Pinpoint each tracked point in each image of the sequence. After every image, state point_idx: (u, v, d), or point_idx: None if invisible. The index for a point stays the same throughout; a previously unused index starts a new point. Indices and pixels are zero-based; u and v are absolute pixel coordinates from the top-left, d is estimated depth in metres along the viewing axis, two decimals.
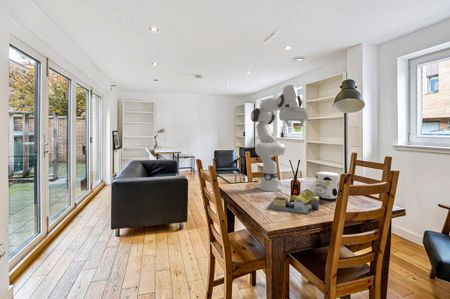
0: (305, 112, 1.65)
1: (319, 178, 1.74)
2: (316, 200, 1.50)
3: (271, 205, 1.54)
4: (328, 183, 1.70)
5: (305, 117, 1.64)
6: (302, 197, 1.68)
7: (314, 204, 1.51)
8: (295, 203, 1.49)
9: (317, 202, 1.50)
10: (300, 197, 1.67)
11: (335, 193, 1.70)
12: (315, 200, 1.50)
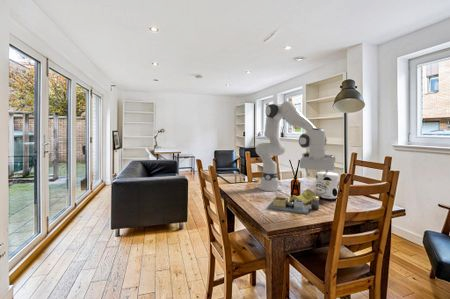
0: (331, 162, 1.45)
1: (319, 178, 1.74)
2: (316, 200, 1.50)
3: (271, 205, 1.54)
4: (328, 183, 1.70)
5: (329, 168, 1.46)
6: (303, 197, 1.68)
7: (314, 204, 1.51)
8: (295, 203, 1.49)
9: (317, 202, 1.50)
10: (301, 197, 1.67)
11: (335, 193, 1.70)
12: (315, 200, 1.50)
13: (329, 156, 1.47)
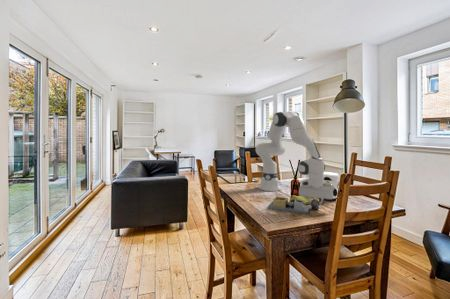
0: (330, 191, 1.47)
1: None
2: (316, 200, 1.50)
3: (271, 205, 1.54)
4: (328, 183, 1.70)
5: (328, 197, 1.47)
6: (303, 197, 1.68)
7: (314, 204, 1.51)
8: (295, 203, 1.49)
9: (317, 202, 1.50)
10: (301, 197, 1.67)
11: (335, 193, 1.70)
12: (315, 200, 1.50)
13: (328, 185, 1.48)
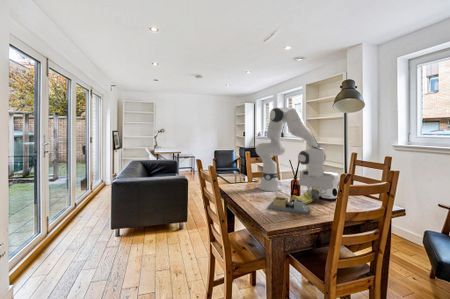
0: (330, 180, 1.46)
1: None
2: (316, 190, 1.50)
3: (271, 205, 1.54)
4: None
5: (328, 186, 1.47)
6: (303, 197, 1.68)
7: (314, 194, 1.50)
8: (295, 203, 1.49)
9: (317, 192, 1.50)
10: (301, 197, 1.67)
11: (335, 193, 1.70)
12: (315, 190, 1.50)
13: (328, 174, 1.48)
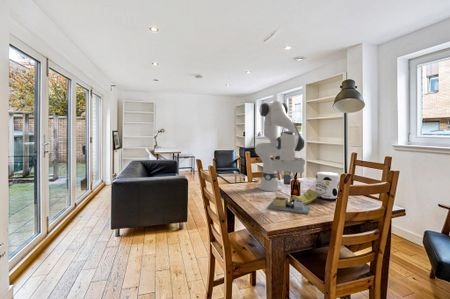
0: (300, 165, 1.48)
1: (319, 178, 1.74)
2: (288, 175, 1.52)
3: (271, 205, 1.54)
4: (328, 183, 1.70)
5: (299, 170, 1.49)
6: (304, 197, 1.68)
7: (286, 179, 1.52)
8: (295, 203, 1.49)
9: (289, 177, 1.52)
10: (301, 197, 1.67)
11: (335, 193, 1.70)
12: (287, 175, 1.52)
13: None
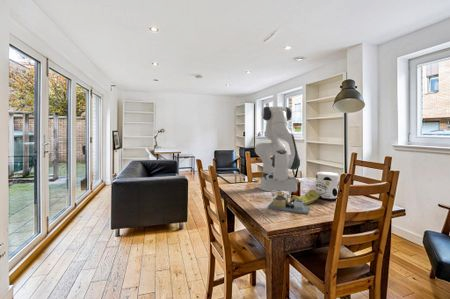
0: (293, 184, 1.50)
1: (319, 178, 1.74)
2: (281, 196, 1.53)
3: (271, 205, 1.54)
4: (328, 183, 1.70)
5: (292, 190, 1.50)
6: (305, 197, 1.67)
7: None
8: (295, 203, 1.49)
9: (282, 198, 1.53)
10: (302, 197, 1.67)
11: (335, 193, 1.70)
12: (280, 196, 1.53)
13: (292, 178, 1.51)
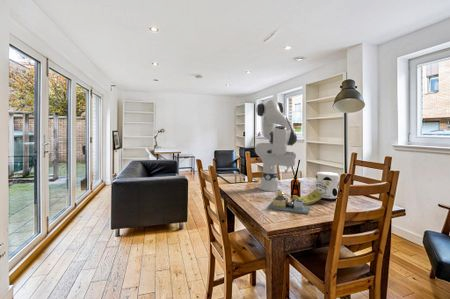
0: (291, 158, 1.53)
1: (319, 178, 1.74)
2: (281, 196, 1.53)
3: (271, 205, 1.54)
4: (328, 183, 1.70)
5: (290, 164, 1.53)
6: (307, 198, 1.66)
7: None
8: (295, 203, 1.49)
9: (282, 198, 1.54)
10: (304, 198, 1.66)
11: (335, 193, 1.70)
12: (280, 196, 1.53)
13: None
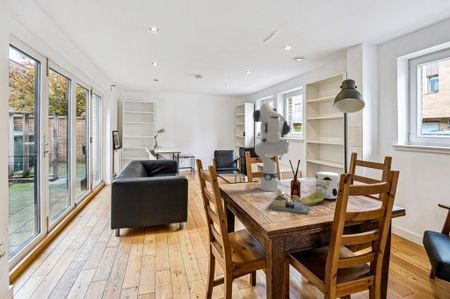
0: (285, 146, 1.63)
1: (319, 178, 1.74)
2: (281, 196, 1.53)
3: (271, 205, 1.54)
4: (328, 183, 1.70)
5: (284, 151, 1.64)
6: (308, 198, 1.65)
7: None
8: (295, 203, 1.49)
9: (282, 198, 1.53)
10: (306, 198, 1.65)
11: (335, 193, 1.70)
12: (280, 196, 1.53)
13: None
